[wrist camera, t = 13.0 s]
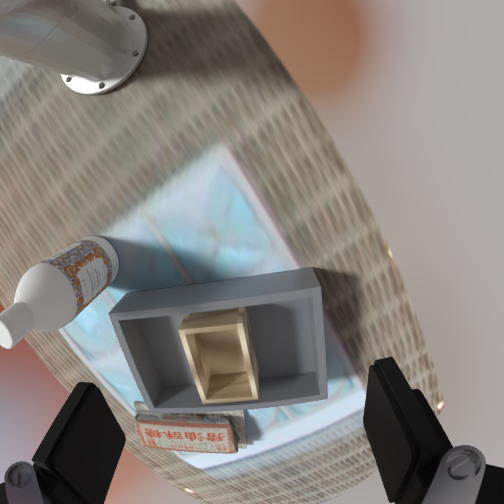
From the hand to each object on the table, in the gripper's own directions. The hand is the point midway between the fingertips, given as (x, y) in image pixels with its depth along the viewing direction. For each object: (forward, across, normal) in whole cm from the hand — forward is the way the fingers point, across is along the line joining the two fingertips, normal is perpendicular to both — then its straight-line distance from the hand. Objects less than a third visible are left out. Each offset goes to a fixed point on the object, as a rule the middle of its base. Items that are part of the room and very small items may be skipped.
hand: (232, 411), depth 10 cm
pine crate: (+27, +5, +15) cm, 31 cm away
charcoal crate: (+28, +5, +15) cm, 32 cm away
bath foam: (+29, +20, +2) cm, 35 cm away
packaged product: (+28, +14, +32) cm, 45 cm away
